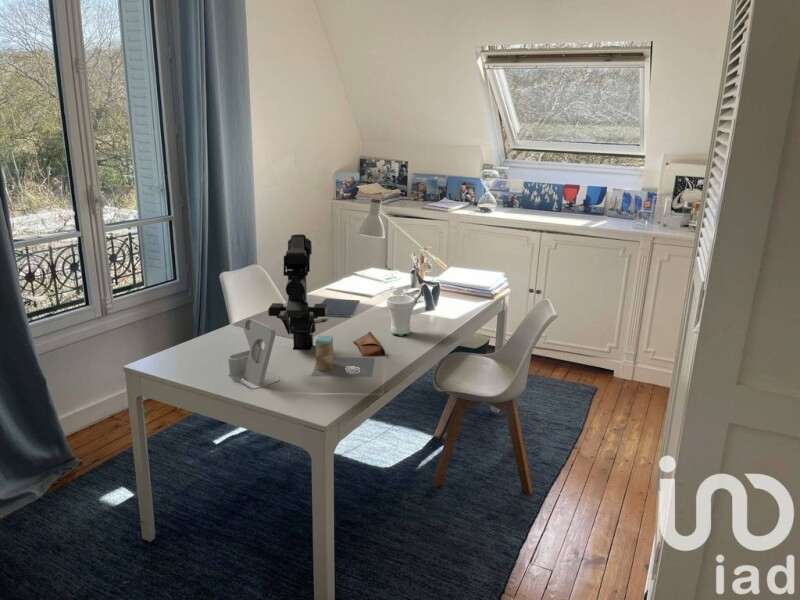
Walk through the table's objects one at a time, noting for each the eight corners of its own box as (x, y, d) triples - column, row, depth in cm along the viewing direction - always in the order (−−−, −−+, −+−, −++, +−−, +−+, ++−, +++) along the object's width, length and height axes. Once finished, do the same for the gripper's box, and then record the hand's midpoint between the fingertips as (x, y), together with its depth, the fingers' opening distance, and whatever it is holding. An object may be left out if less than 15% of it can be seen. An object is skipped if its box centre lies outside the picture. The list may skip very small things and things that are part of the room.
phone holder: (226, 374, 201) (222, 322, 195) (253, 365, 207) (250, 316, 202) (253, 391, 189) (249, 337, 183) (281, 381, 195) (278, 329, 190)
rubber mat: (311, 377, 199) (311, 375, 199) (318, 358, 214) (318, 357, 214) (372, 377, 199) (372, 376, 199) (374, 358, 214) (374, 357, 214)
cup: (413, 328, 244) (414, 295, 240) (415, 338, 234) (416, 303, 230) (386, 328, 244) (386, 295, 240) (386, 338, 233) (386, 303, 229)
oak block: (316, 369, 204) (315, 342, 201) (318, 362, 209) (318, 335, 206) (331, 370, 204) (330, 342, 201) (333, 362, 209) (332, 335, 206)
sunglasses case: (350, 340, 230) (359, 325, 230) (366, 348, 233) (374, 333, 232) (362, 358, 214) (372, 342, 213) (379, 366, 217) (388, 350, 216)
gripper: (263, 296, 191) (266, 342, 195) (322, 297, 191) (323, 343, 195) (270, 286, 201) (273, 330, 206) (326, 287, 201) (327, 331, 206)
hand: (299, 334), depth 203 cm, fingers open, 6 cm apart
